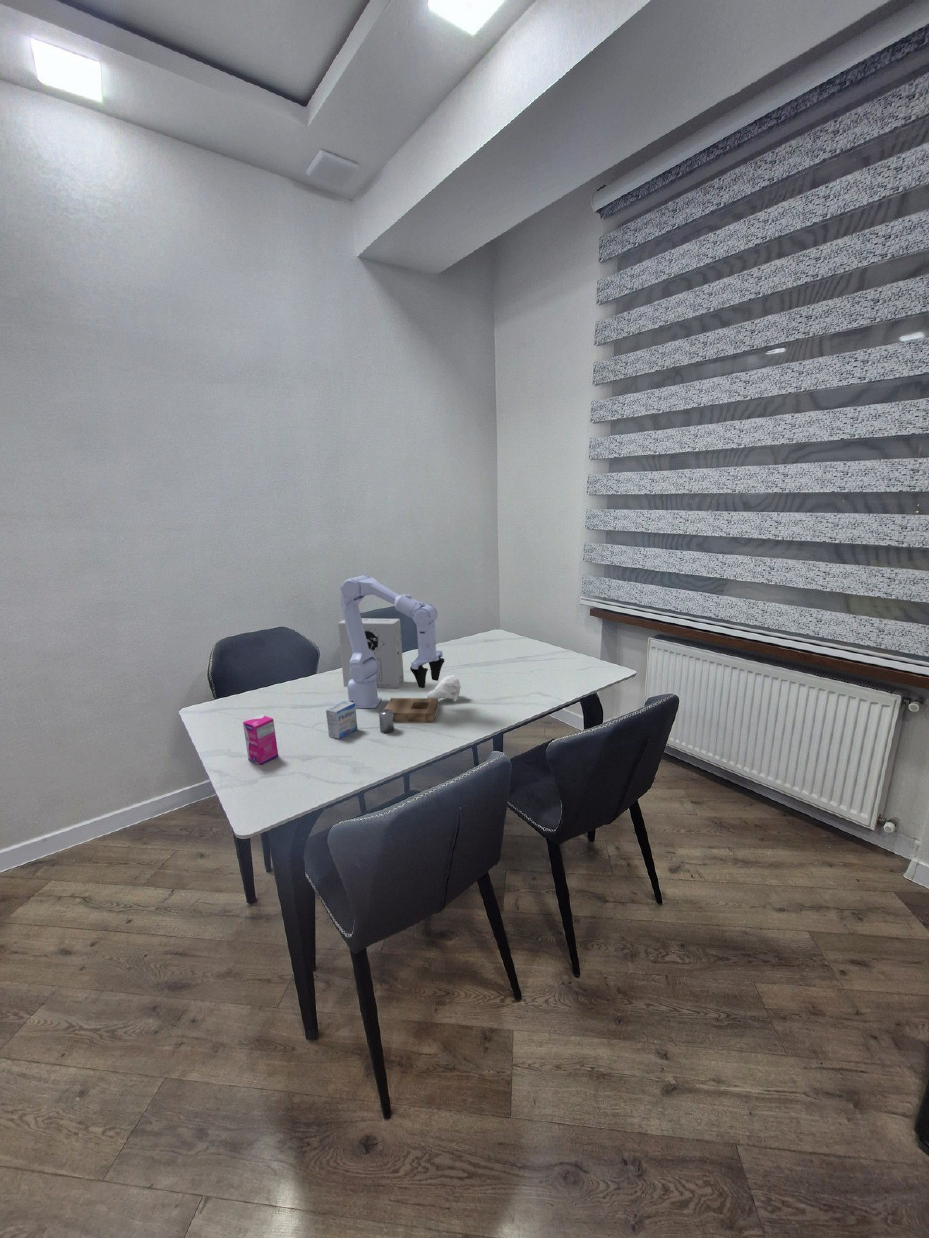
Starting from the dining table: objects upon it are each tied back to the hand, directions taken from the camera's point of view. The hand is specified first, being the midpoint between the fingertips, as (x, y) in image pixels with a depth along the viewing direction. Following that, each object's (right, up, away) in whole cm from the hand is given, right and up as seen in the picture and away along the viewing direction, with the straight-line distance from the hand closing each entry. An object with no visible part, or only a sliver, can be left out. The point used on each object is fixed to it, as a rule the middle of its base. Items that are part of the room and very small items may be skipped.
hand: (428, 683), depth 159 cm
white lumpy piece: (+4, -8, +11) cm, 14 cm away
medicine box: (-25, -14, -10) cm, 30 cm away
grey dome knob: (-12, -13, -10) cm, 20 cm away
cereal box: (-23, -4, +29) cm, 38 cm away
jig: (-6, -10, +1) cm, 12 cm away
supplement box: (-43, -17, -24) cm, 53 cm away
